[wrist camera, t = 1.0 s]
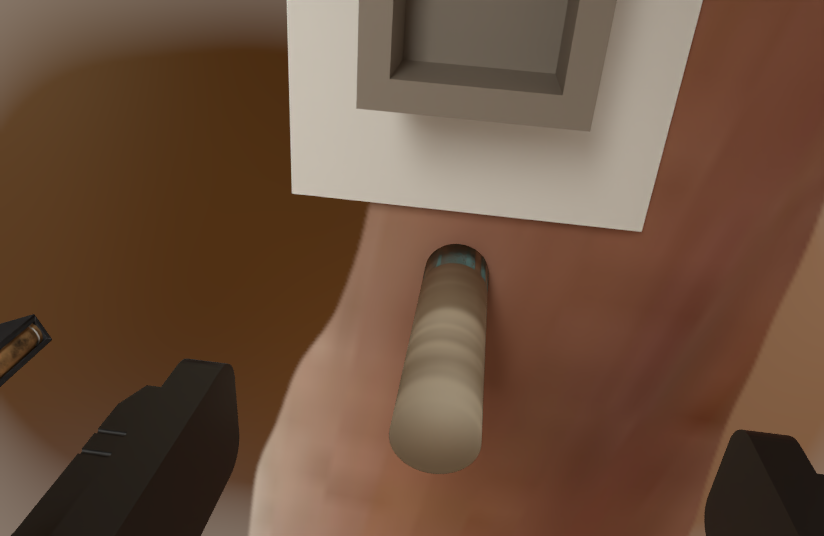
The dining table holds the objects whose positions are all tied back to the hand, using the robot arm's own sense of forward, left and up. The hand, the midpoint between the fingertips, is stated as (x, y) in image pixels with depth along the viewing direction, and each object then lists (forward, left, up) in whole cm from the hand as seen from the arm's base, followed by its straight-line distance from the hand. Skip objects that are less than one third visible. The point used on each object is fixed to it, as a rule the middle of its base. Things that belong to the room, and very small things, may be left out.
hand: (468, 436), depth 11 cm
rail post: (+9, -1, -21) cm, 22 cm away
